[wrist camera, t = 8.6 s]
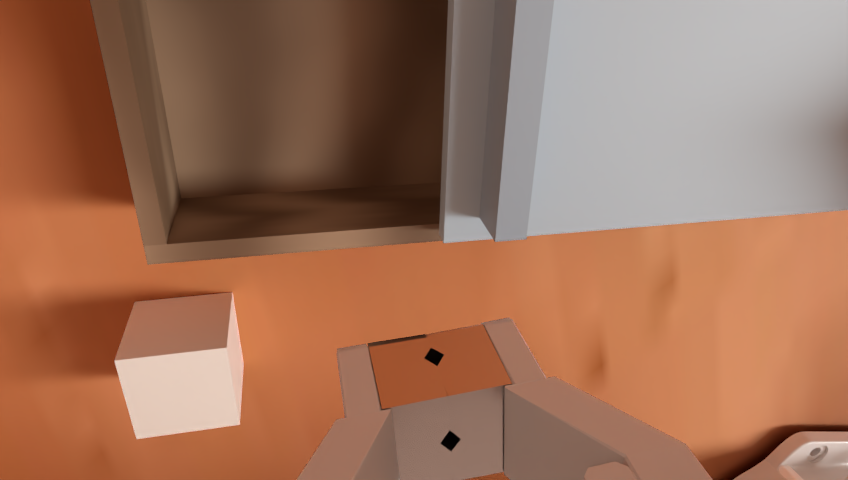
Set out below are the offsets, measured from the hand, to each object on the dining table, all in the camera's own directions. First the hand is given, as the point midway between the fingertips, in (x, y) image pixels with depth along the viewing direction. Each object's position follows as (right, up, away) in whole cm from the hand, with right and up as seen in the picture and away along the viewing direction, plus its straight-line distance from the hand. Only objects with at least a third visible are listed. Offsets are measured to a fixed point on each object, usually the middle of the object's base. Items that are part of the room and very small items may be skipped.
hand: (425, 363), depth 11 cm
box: (-2, +10, +16) cm, 19 cm away
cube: (-12, -3, +20) cm, 24 cm away
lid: (+10, +8, +14) cm, 19 cm away
